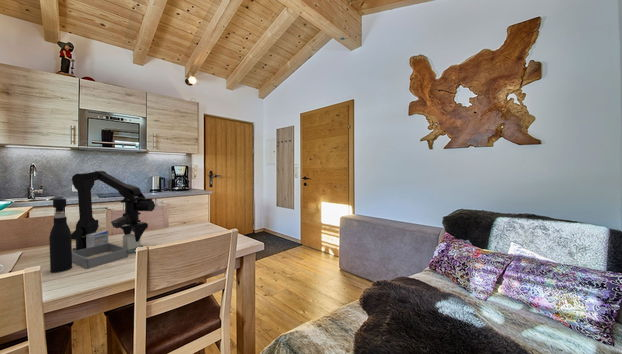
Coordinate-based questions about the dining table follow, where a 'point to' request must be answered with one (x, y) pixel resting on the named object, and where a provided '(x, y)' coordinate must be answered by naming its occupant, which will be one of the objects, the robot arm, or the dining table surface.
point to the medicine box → (97, 238)
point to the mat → (133, 250)
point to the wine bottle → (60, 240)
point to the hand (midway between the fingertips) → (132, 240)
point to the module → (130, 241)
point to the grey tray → (116, 254)
